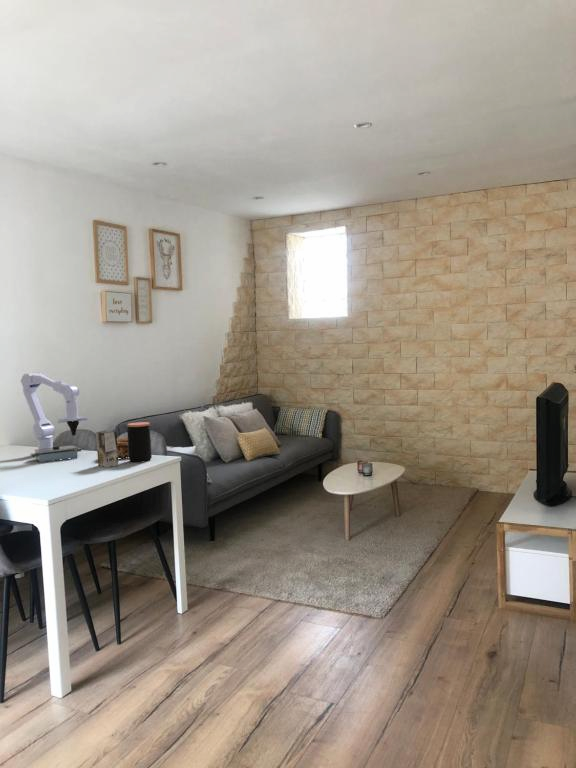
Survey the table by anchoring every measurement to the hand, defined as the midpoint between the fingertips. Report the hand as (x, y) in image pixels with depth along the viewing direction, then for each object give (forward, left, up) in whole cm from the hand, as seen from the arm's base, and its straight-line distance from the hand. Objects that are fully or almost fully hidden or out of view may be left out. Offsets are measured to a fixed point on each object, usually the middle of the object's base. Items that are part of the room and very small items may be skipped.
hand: (73, 435), depth 330 cm
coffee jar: (+42, +22, -11) cm, 49 cm away
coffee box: (+44, +6, -11) cm, 46 cm away
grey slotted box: (+4, -10, -10) cm, 15 cm away
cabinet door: (+4, -10, -6) cm, 12 cm away
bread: (+26, +18, -11) cm, 33 cm away
